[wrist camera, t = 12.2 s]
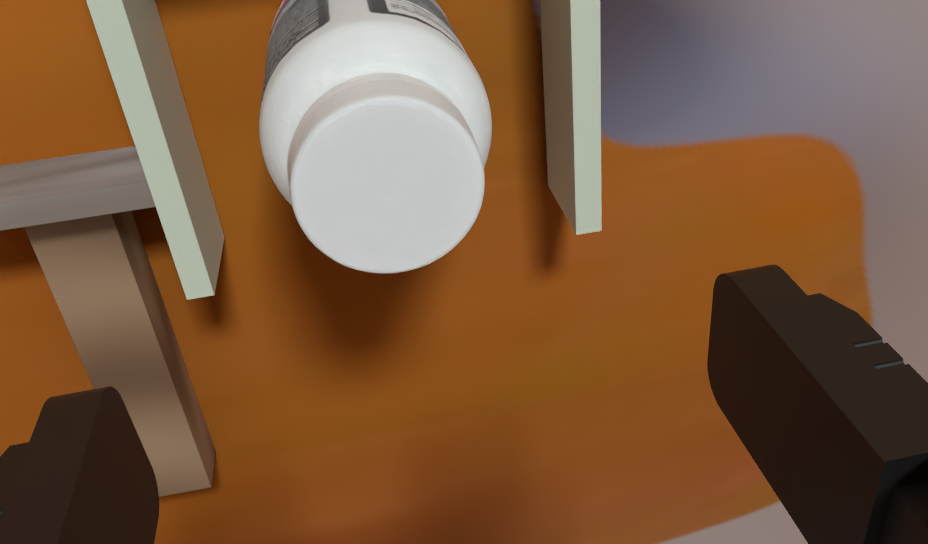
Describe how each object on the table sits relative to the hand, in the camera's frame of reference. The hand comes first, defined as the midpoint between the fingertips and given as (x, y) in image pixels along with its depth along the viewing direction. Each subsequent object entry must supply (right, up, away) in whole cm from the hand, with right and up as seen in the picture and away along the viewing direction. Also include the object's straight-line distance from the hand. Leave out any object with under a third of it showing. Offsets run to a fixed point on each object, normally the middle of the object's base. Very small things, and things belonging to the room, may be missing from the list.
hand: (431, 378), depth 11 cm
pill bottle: (-3, +8, +14) cm, 16 cm away
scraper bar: (-11, -1, +18) cm, 21 cm away
